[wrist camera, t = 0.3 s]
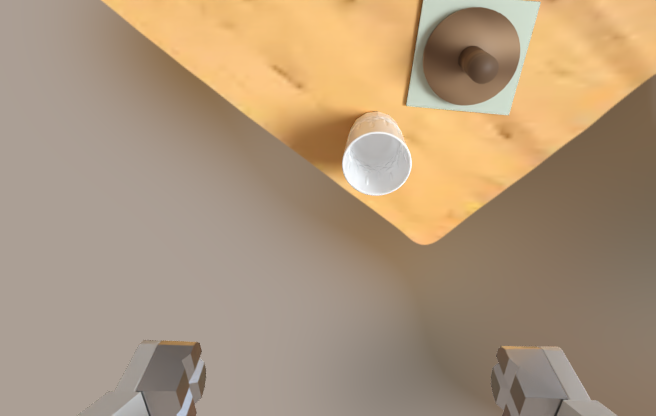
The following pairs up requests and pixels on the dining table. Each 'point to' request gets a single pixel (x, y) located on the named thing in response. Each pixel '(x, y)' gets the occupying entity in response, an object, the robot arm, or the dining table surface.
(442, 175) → the dining table surface
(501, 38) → the lid
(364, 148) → the white cup
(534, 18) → the mat
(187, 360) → the robot arm
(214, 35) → the dining table surface
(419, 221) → the dining table surface
